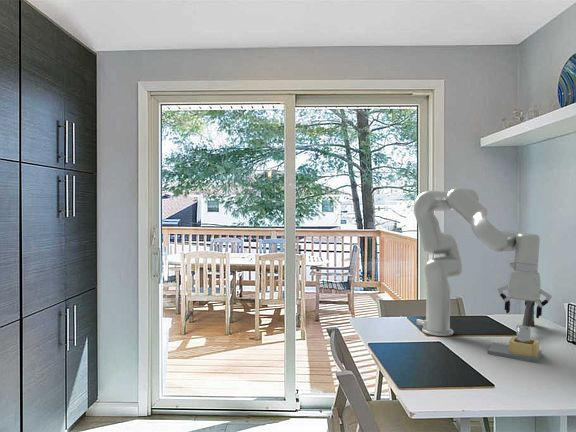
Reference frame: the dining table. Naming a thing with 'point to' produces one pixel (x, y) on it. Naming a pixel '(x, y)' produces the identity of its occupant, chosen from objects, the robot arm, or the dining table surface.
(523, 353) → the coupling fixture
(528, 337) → the pipe stub
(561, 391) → the dining table surface
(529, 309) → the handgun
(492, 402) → the dining table surface
